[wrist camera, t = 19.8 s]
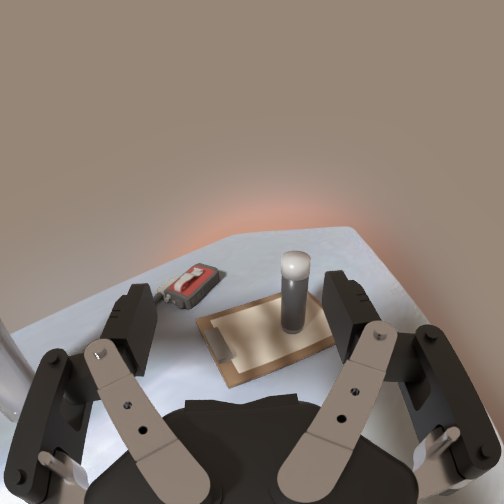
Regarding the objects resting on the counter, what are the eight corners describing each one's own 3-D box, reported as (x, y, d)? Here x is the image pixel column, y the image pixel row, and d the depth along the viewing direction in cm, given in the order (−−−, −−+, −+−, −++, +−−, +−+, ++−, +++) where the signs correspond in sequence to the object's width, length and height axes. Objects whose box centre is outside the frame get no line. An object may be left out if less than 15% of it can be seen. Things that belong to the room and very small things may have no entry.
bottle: (287, 338, 47) (291, 268, 40) (275, 323, 50) (275, 255, 43) (309, 329, 48) (316, 260, 41) (296, 315, 51) (300, 248, 45)
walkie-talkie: (192, 269, 68) (133, 320, 53) (190, 252, 66) (126, 302, 51) (224, 278, 65) (166, 336, 49) (223, 260, 62) (160, 318, 47)
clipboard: (228, 388, 39) (227, 382, 38) (196, 321, 52) (194, 315, 51) (351, 336, 47) (352, 329, 46) (301, 287, 60) (301, 281, 59)
